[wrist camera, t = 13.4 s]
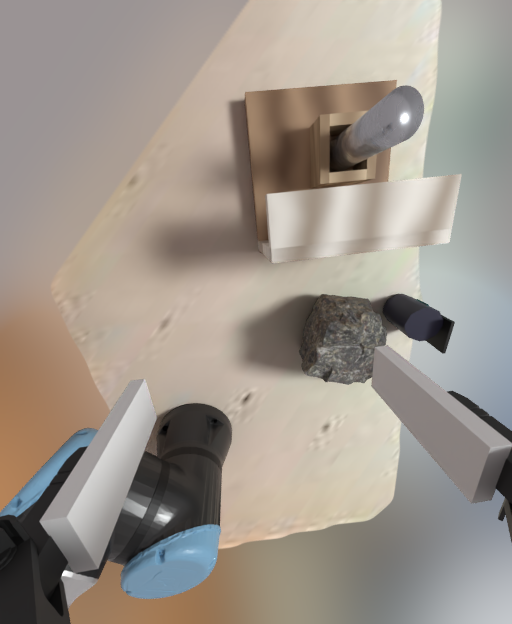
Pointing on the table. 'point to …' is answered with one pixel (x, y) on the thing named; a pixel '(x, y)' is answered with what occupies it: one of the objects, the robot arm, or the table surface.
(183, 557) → the robot arm
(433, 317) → the speaker
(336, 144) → the peg
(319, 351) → the rock
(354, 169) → the socket board
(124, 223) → the table surface
